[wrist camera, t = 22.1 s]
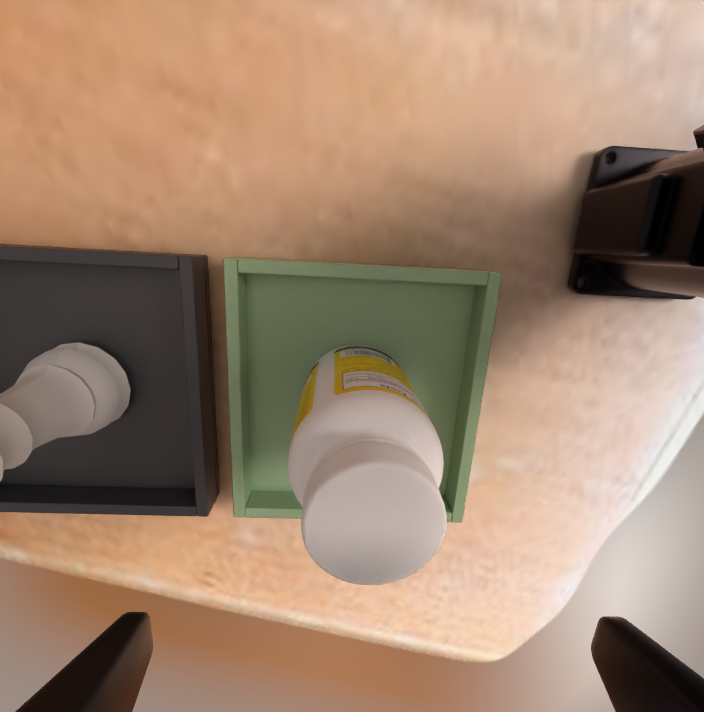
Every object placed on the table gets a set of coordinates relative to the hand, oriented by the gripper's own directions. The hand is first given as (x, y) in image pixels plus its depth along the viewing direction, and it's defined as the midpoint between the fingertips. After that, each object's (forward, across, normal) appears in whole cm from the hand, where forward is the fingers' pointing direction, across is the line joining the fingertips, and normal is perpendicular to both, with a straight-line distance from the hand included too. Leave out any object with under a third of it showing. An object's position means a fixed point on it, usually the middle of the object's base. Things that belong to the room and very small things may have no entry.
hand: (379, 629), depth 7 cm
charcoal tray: (+13, +14, 0) cm, 19 cm away
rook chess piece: (+13, +13, 0) cm, 18 cm away
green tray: (+13, 0, 0) cm, 13 cm away
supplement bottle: (+13, 0, 0) cm, 13 cm away
